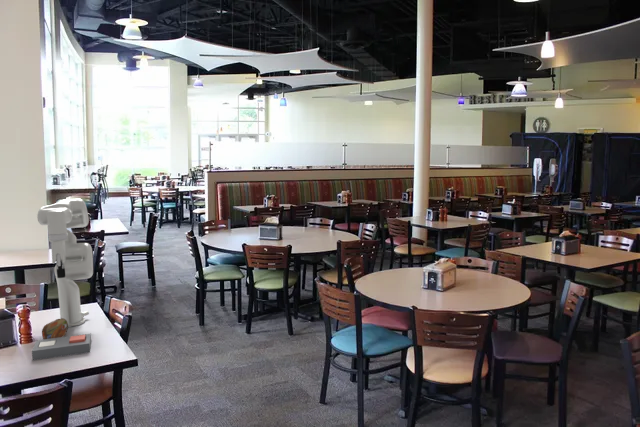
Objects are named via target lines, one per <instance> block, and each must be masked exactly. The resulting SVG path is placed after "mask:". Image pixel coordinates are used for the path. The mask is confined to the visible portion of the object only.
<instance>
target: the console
mask: <svg viewBox="0 0 640 427" xmlns="http://www.w3.org/2000/svg"><path fill="white" fill-rule="evenodd" d="M78 335H79V334H77V335H74V336H78ZM81 335H86V341H83V342H76V343H70V342H69V341H70V337H71V336H72V335H69V336H67V335H66V336H63V337H59V338H51V339H43V338H42V339H38V340H37V339H36V341H35V343H34V345H33V347H32V350H31V357H32V361H38V360H39V361H40V360H47V359H51V358H52V359H55V358H58V357H67V356H74V355H81V354H89V353H91V347H92V342H93V340H92V333H82V334H81ZM55 340H56V343H55V345H53V346H46V347H39V344H40V342H47V341H55Z"/></svg>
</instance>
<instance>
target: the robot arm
mask: <svg viewBox="0 0 640 427" xmlns="http://www.w3.org/2000/svg"><path fill="white" fill-rule="evenodd" d="M36 215H37V216H36V217H37V221H38V223H39V225H41V226H47V231H48V232H47V233H48V241H49V242H50V243H51V263H52V264H53V265H55V266H54V268H53V269H54V275H55V279H56V283H57V284H56V285H57V292H58V294H57V296H58V303H59V304H58V305H59V315H60V318H59V319H62V318H63V319H65V320H66V321H67V323H68V328H70V327H71V328H72V327H76V326H80V325H82V324H85V322H86V319H85V318H84V317H85V316H88V315H90V312H89V310H86V311H84V312H83V311H82V309H81V296H80V288H79V285H78V284H77V283H76V282H75V281H77V280H87V279H90V278H92V276H93V274H94V258H93V255H94V254H93V248H92V246H91V244H90V243H89V242H77V237H76V235H75V234H74V232H72V231H70V230H69V229H75V228H76V229H77V228H85V227H87V226H88V225H89V221H90V218H89V212H88V208H87V204H86V202H85V201H84V200H83V198H82V199H81V198H69V199H68V198H66V199H65V198H64V199H60V200H58V201H56V203H53V204H50V205H45V206H41V207H40V208H39V210H38V212H37V214H36ZM55 263H56V264H55Z"/></svg>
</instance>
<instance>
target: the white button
mask: <svg viewBox="0 0 640 427" xmlns="http://www.w3.org/2000/svg"><path fill="white" fill-rule="evenodd" d="M55 343H56V340H55V341H47V342H40V344H39V347H46V346H53V345H55Z"/></svg>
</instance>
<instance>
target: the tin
mask: <svg viewBox="0 0 640 427" xmlns="http://www.w3.org/2000/svg"><path fill="white" fill-rule="evenodd" d="M68 330H69V327H68V323H67V321H66V320H65V319H63V318H62V319H61V318H57V319H55V320H52V321H50V322H48V323H46V324H44V326H42V329H41V336H42V340H43V339H51V338H59V337H65V336H66V334H67V333H68Z"/></svg>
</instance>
